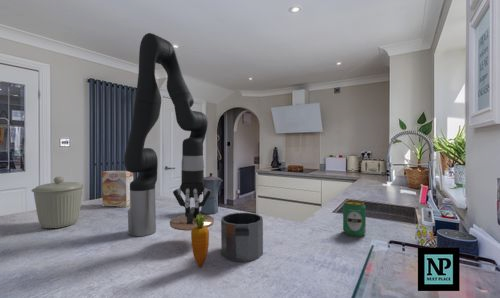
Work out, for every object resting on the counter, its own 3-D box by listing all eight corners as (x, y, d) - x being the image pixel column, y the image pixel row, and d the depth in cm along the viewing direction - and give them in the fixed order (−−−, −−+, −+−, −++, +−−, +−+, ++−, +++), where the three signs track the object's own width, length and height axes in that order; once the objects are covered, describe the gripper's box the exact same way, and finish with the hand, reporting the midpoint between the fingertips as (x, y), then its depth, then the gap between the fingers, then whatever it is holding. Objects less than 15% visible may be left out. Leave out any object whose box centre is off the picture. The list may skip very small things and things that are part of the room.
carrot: (192, 263, 74) (192, 212, 74) (209, 262, 75) (209, 212, 74) (190, 272, 69) (189, 217, 69) (208, 271, 70) (208, 216, 69)
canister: (22, 229, 105) (21, 178, 105) (67, 217, 122) (66, 173, 121) (50, 234, 98) (48, 180, 98) (94, 221, 115) (93, 174, 115)
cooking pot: (219, 265, 73) (219, 227, 73) (223, 242, 90) (223, 211, 89) (264, 264, 73) (264, 226, 73) (260, 241, 90) (260, 211, 90)
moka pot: (220, 215, 123) (220, 174, 122) (190, 214, 126) (190, 173, 125) (226, 210, 132) (225, 172, 132) (198, 209, 135) (197, 171, 135)
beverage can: (343, 235, 95) (343, 203, 95) (343, 228, 103) (343, 199, 102) (366, 238, 93) (366, 205, 92) (364, 231, 100) (364, 200, 100)
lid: (163, 232, 81) (163, 216, 81) (176, 218, 96) (176, 204, 96) (211, 233, 82) (211, 216, 81) (216, 218, 97) (216, 204, 96)
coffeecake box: (102, 206, 142) (101, 171, 141) (111, 203, 149) (110, 170, 148) (126, 207, 139) (125, 172, 139) (134, 204, 146) (133, 170, 146)
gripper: (169, 169, 84) (169, 221, 85) (211, 170, 85) (210, 221, 85) (175, 167, 92) (175, 214, 92) (213, 167, 92) (213, 214, 93)
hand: (192, 217), depth 89 cm, fingers closed on lid
